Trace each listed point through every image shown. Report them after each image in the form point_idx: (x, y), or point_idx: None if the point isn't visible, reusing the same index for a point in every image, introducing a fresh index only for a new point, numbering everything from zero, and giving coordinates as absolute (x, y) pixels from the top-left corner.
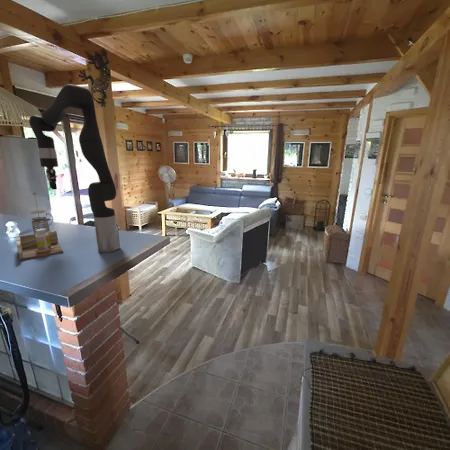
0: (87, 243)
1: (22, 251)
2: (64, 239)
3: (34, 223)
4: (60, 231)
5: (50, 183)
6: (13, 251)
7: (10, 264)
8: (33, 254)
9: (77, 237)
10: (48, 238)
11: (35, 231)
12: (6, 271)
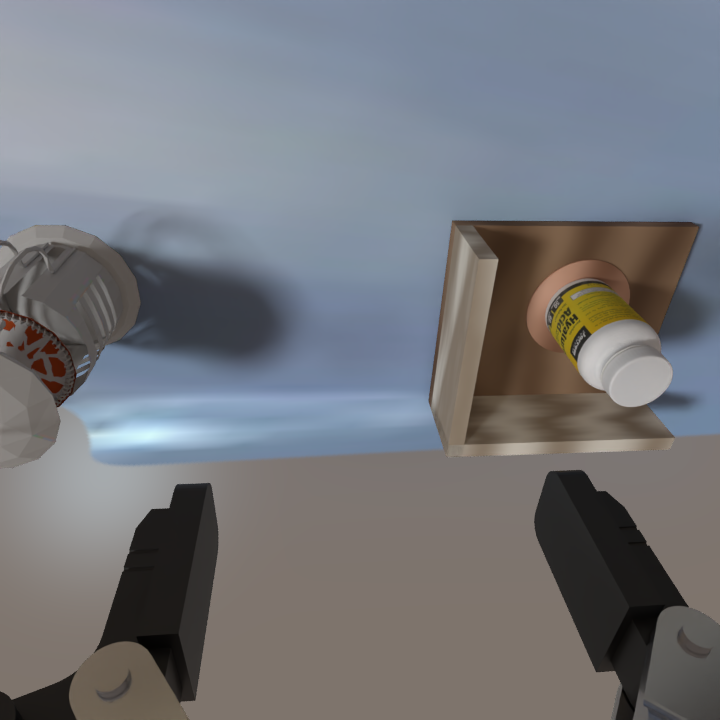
0: (634, 26)
1: (549, 399)
2: (370, 167)
3: (83, 380)
4: (43, 155)
5: (203, 630)
6: None
7: None
8: None
9: (379, 58)
10: (640, 317)
11: (103, 343)
12: (713, 429)
